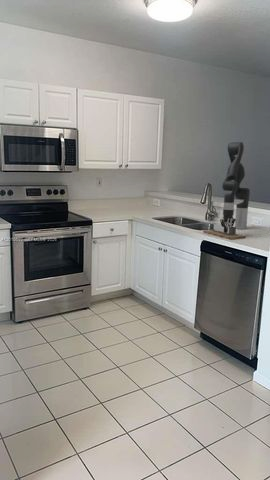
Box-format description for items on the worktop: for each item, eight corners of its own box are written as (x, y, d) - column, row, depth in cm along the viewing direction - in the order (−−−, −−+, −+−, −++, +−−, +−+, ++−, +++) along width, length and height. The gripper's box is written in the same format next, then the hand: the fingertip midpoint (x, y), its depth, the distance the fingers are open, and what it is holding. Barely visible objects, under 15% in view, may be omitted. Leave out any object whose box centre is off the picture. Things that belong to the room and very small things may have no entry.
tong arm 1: (213, 230, 293) (213, 223, 292) (214, 230, 294) (215, 223, 293) (231, 234, 276) (232, 227, 275) (233, 234, 277) (234, 227, 276)
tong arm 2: (215, 229, 294) (216, 223, 293) (217, 229, 295) (217, 223, 294) (233, 234, 277) (234, 227, 276) (235, 234, 278) (235, 227, 277)
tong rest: (203, 232, 296) (203, 222, 294) (217, 231, 302) (217, 221, 301) (231, 239, 270) (231, 229, 269) (245, 238, 277) (246, 227, 276)
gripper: (224, 209, 273) (223, 233, 276) (239, 209, 280) (237, 232, 283) (217, 208, 279) (216, 232, 283) (232, 207, 286) (230, 231, 290)
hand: (227, 232), depth 283 cm, fingers closed
